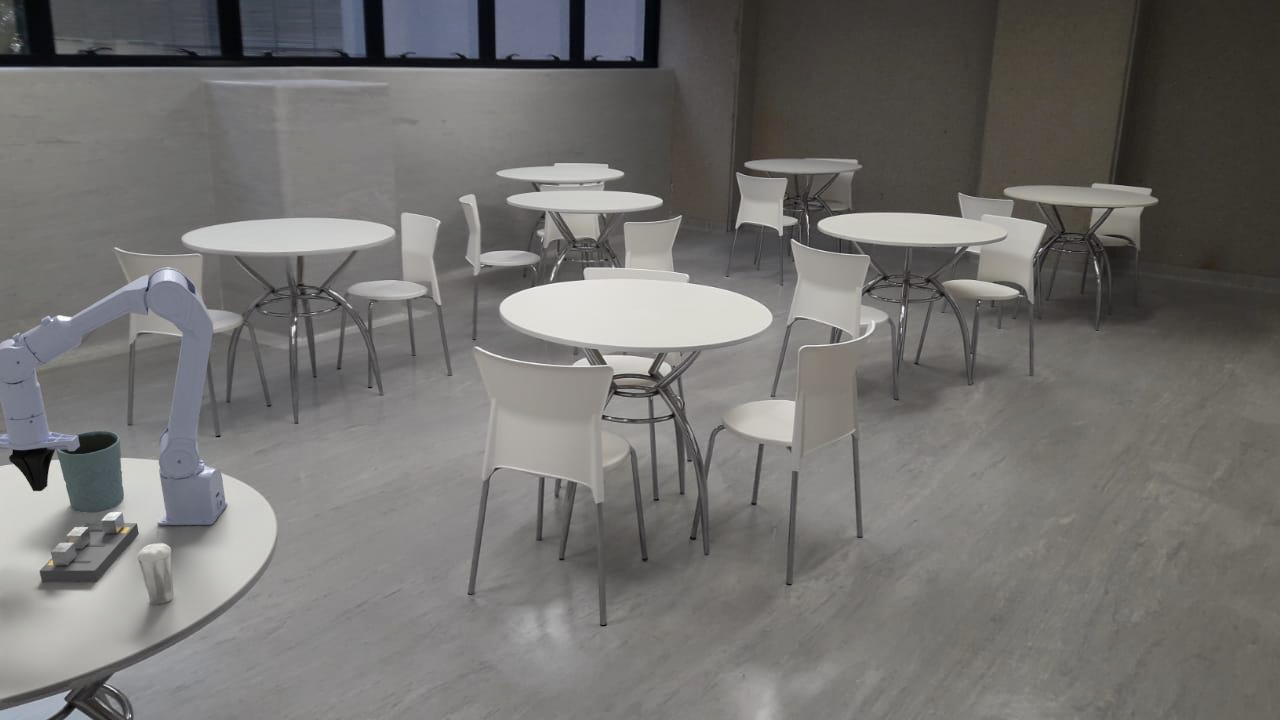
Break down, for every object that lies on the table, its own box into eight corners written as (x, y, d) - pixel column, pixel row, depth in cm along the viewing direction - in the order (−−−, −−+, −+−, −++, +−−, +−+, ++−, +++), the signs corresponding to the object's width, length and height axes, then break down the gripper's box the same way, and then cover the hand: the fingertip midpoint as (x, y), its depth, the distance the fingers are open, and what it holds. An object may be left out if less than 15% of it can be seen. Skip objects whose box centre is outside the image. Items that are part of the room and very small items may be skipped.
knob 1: (76, 555, 159) (73, 542, 158) (67, 565, 156) (65, 551, 156) (62, 555, 159) (59, 542, 158) (53, 565, 156) (50, 551, 155)
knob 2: (91, 539, 164) (88, 527, 163) (82, 548, 161) (80, 535, 160) (77, 539, 164) (74, 527, 163) (68, 548, 161) (66, 535, 160)
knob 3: (124, 524, 169) (122, 512, 168) (117, 533, 166) (114, 520, 165) (111, 524, 168) (109, 512, 168) (103, 533, 166) (101, 520, 165)
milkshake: (183, 586, 155) (173, 530, 152) (174, 605, 150) (164, 548, 147) (152, 588, 155) (142, 532, 151) (141, 608, 150) (131, 550, 146)
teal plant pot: (87, 488, 186) (76, 429, 182) (140, 490, 185) (130, 431, 181) (55, 514, 176) (42, 453, 172) (111, 516, 176) (100, 455, 172)
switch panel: (138, 533, 170) (136, 522, 170) (97, 581, 156) (94, 570, 156) (88, 533, 170) (86, 522, 169) (41, 581, 156) (39, 570, 155)
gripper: (82, 403, 165) (96, 477, 169) (-8, 403, 164) (9, 477, 169) (60, 420, 158) (75, 496, 163) (-33, 420, 157) (-16, 497, 162)
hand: (40, 488), depth 165 cm, fingers closed
